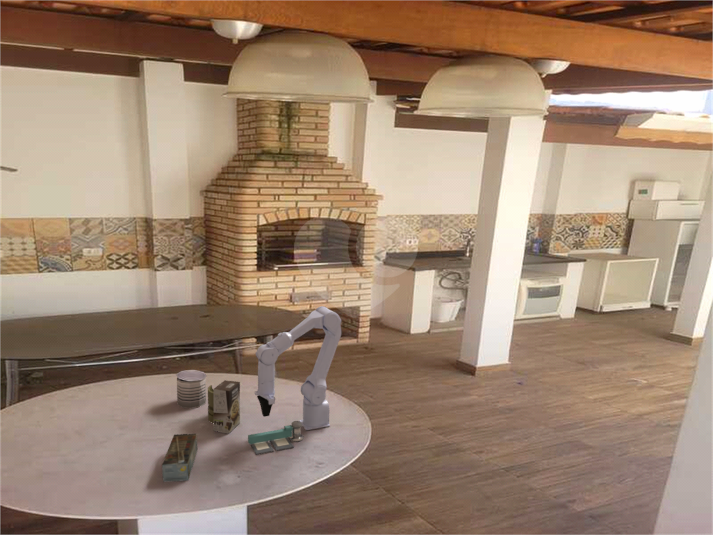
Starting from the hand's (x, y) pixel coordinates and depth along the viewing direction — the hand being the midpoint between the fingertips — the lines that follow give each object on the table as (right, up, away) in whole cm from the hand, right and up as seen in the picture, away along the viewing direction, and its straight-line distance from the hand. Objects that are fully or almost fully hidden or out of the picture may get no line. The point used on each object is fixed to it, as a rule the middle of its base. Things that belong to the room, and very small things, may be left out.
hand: (265, 415), depth 197 cm
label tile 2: (+6, -8, -5) cm, 11 cm away
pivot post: (+11, -8, -1) cm, 13 cm away
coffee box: (-15, -6, +5) cm, 17 cm away
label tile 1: (0, -9, -7) cm, 11 cm away
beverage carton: (-24, -11, -20) cm, 33 cm away
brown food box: (-18, -4, +13) cm, 22 cm away
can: (-34, -2, +25) cm, 42 cm away
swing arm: (+4, -7, -5) cm, 9 cm away
